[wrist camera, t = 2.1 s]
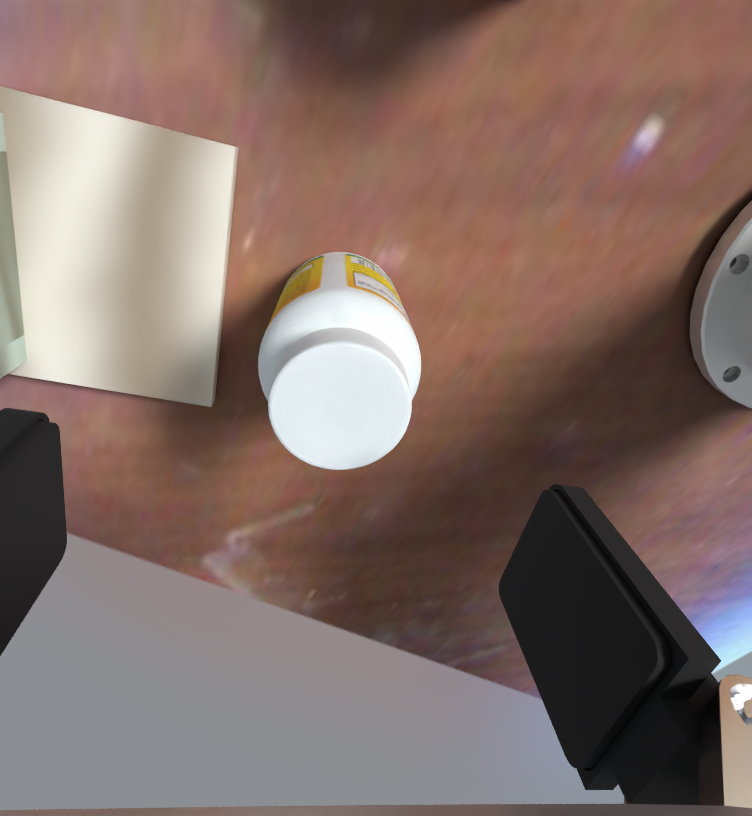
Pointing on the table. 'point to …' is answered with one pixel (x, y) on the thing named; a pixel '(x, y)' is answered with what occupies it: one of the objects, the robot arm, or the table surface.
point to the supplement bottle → (339, 363)
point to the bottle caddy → (111, 250)
